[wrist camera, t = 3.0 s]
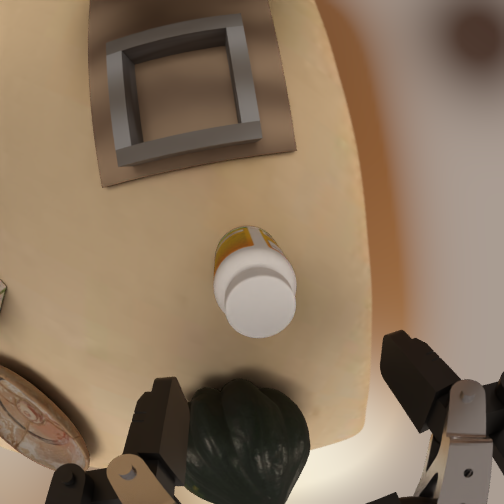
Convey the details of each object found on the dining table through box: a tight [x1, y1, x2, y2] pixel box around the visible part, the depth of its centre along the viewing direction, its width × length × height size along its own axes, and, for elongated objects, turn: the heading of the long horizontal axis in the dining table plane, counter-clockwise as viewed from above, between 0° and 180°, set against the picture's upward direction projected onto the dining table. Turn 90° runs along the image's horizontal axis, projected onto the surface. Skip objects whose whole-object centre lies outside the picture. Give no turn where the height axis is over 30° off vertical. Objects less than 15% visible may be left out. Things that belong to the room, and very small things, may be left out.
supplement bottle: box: [213, 226, 296, 338], centre depth 20 cm, size 5×5×10 cm
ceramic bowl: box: [0, 365, 90, 471], centre depth 27 cm, size 23×24×5 cm
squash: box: [184, 379, 310, 504], centre depth 25 cm, size 14×15×15 cm
